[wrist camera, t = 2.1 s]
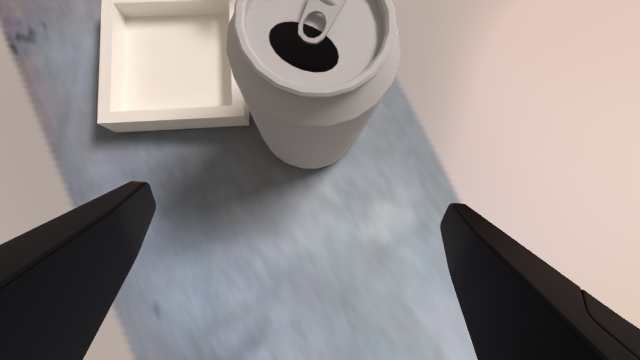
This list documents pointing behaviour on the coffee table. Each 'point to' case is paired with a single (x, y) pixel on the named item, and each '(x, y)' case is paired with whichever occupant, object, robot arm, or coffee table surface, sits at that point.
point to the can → (312, 71)
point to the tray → (167, 66)
